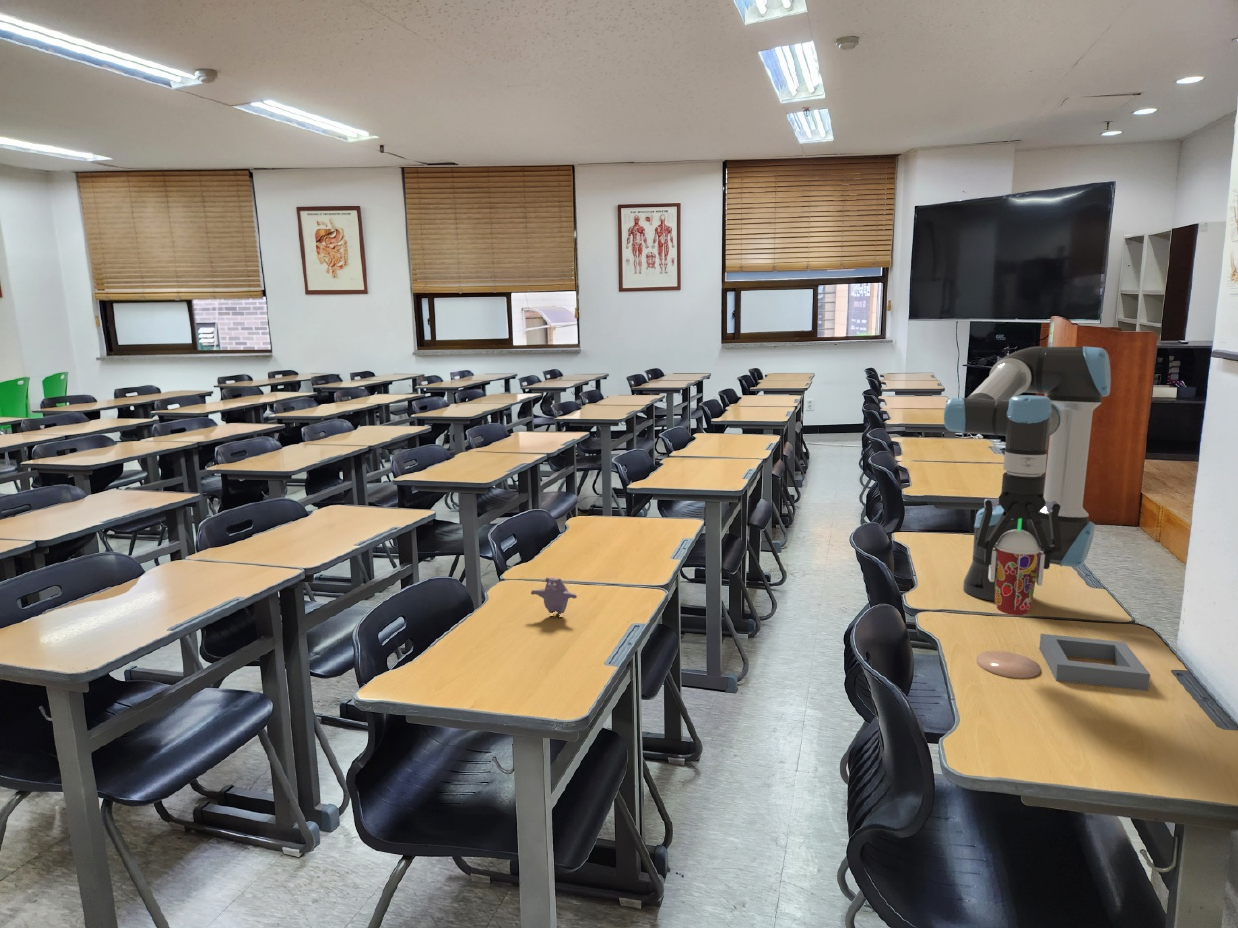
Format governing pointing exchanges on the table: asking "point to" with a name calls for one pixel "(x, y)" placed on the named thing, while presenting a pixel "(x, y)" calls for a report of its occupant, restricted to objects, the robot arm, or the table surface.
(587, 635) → the table surface
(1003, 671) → the pink flat disc
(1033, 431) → the robot arm
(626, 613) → the table surface
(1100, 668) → the holder
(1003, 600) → the smoothie
